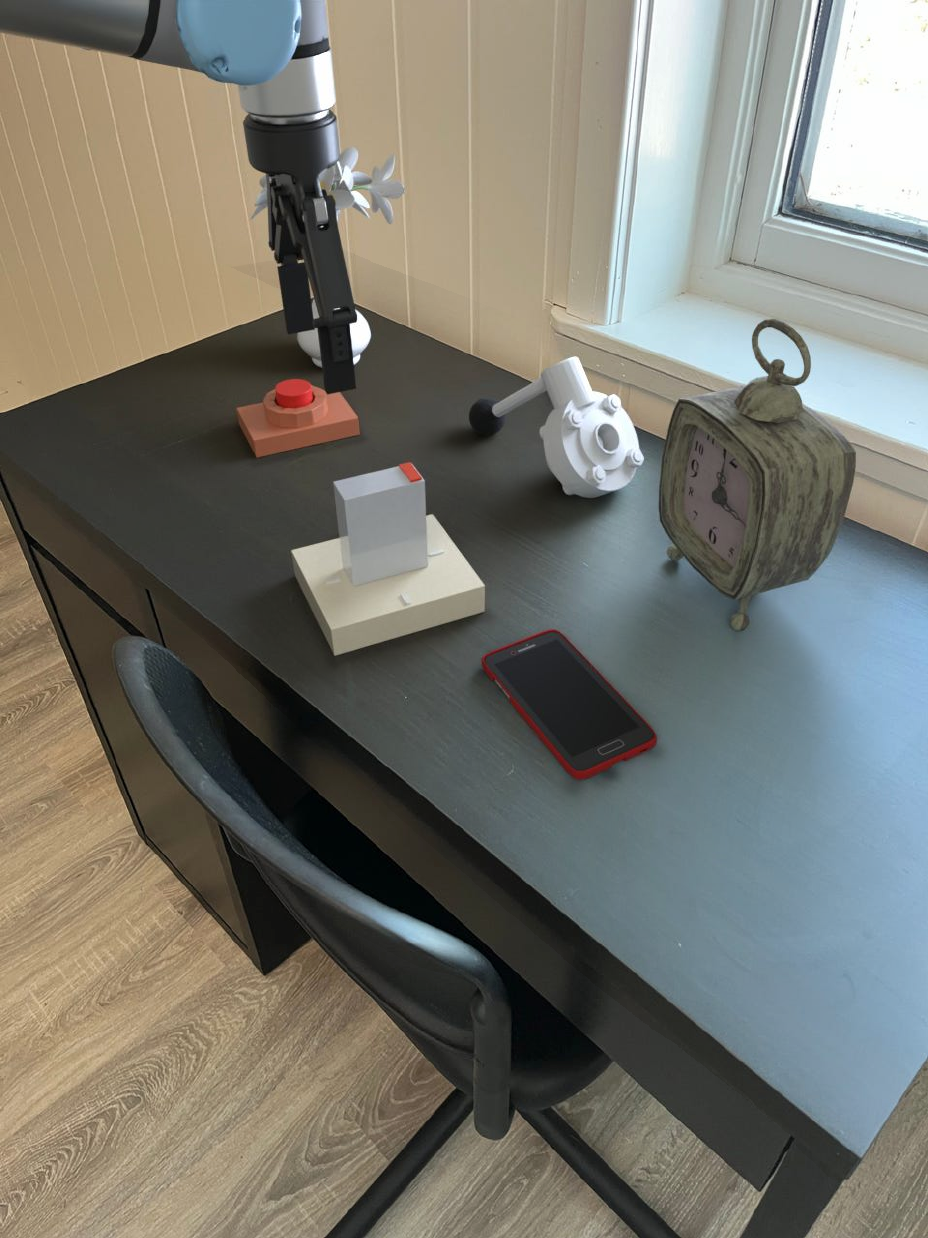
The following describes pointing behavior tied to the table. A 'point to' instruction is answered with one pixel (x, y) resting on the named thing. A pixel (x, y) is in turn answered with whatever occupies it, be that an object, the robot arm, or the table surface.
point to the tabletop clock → (754, 482)
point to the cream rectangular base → (387, 593)
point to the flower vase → (344, 198)
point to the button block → (296, 423)
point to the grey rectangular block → (382, 523)
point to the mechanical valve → (574, 430)
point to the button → (294, 393)
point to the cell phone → (568, 703)
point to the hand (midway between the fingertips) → (319, 358)
